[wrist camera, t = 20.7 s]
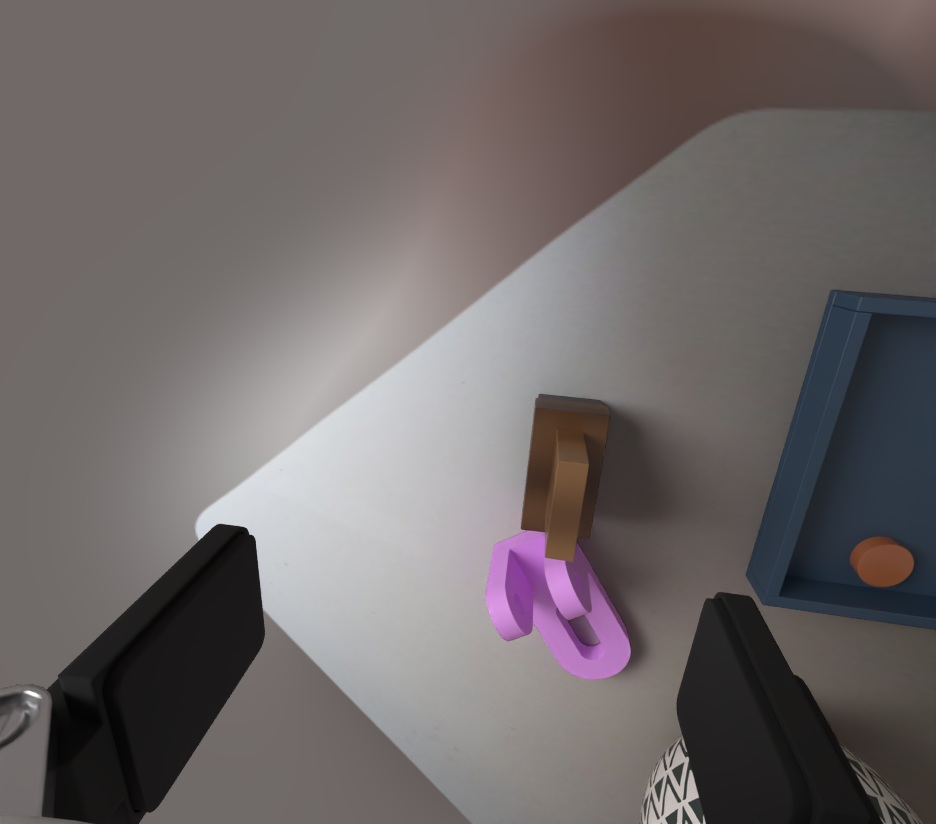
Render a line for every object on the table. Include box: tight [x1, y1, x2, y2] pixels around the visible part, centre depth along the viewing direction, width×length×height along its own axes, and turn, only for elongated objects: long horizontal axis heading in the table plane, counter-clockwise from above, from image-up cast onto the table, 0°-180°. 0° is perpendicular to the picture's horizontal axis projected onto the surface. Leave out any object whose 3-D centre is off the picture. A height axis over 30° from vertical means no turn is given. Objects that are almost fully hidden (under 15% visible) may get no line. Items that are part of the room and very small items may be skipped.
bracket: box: [486, 530, 631, 680], centre depth 36 cm, size 13×6×7 cm, turn 30°
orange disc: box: [850, 536, 914, 587], centre depth 34 cm, size 3×3×1 cm
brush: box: [521, 394, 610, 562], centre depth 32 cm, size 8×4×8 cm, turn 176°
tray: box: [746, 290, 936, 630], centre depth 31 cm, size 20×15×3 cm
